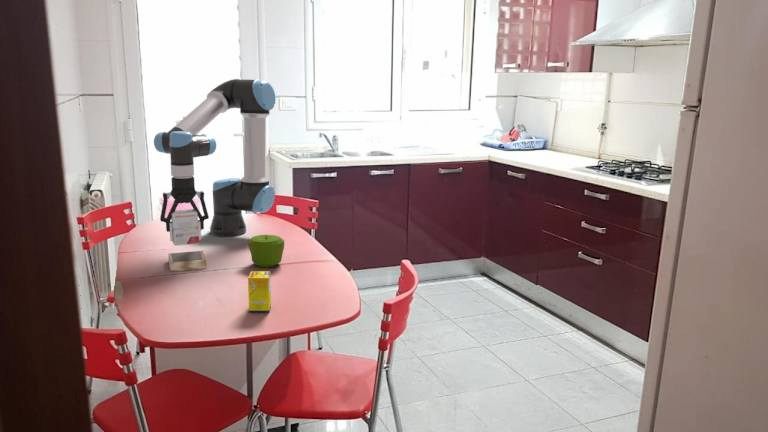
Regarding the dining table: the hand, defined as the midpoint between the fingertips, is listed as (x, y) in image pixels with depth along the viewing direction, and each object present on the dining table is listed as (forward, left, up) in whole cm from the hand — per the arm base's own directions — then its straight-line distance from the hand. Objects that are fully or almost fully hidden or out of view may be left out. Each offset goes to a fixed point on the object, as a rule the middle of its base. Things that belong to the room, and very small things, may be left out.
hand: (185, 239), depth 213 cm
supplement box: (-17, +49, -10) cm, 53 cm away
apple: (-27, +8, -10) cm, 30 cm away
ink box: (0, 0, -2) cm, 2 cm away
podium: (0, 0, -10) cm, 10 cm away
